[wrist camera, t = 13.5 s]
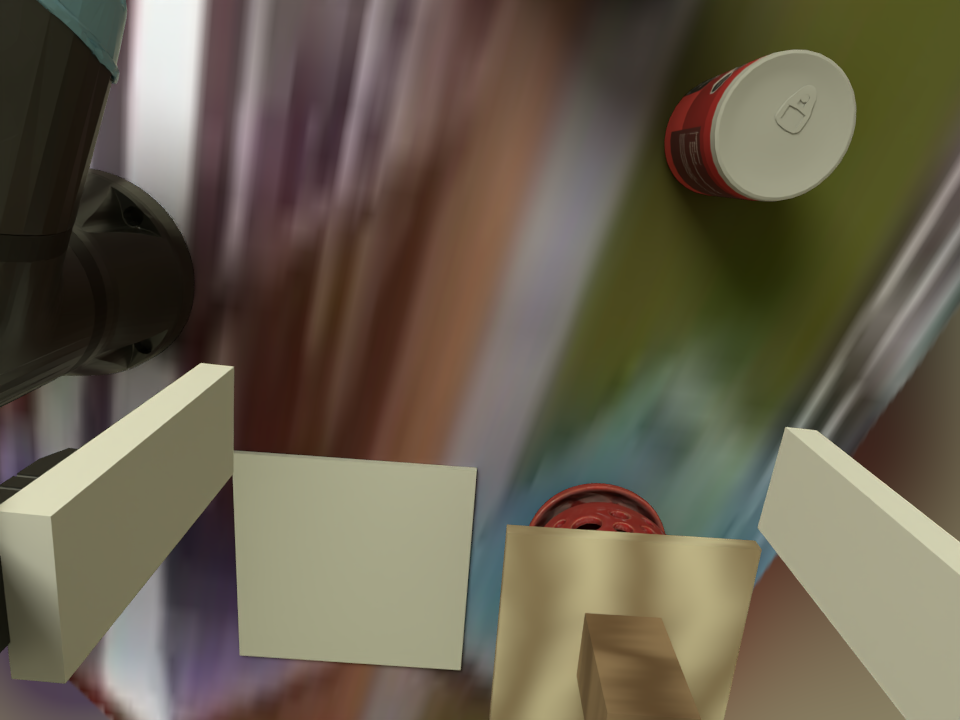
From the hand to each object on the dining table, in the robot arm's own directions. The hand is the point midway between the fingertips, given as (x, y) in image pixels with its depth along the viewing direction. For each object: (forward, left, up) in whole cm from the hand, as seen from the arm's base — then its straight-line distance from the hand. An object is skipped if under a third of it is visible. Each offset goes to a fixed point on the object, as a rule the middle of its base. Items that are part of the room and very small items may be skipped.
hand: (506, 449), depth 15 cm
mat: (-10, -27, -34) cm, 45 cm away
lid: (+10, -23, -22) cm, 34 cm away
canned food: (+15, +10, -34) cm, 39 cm away
